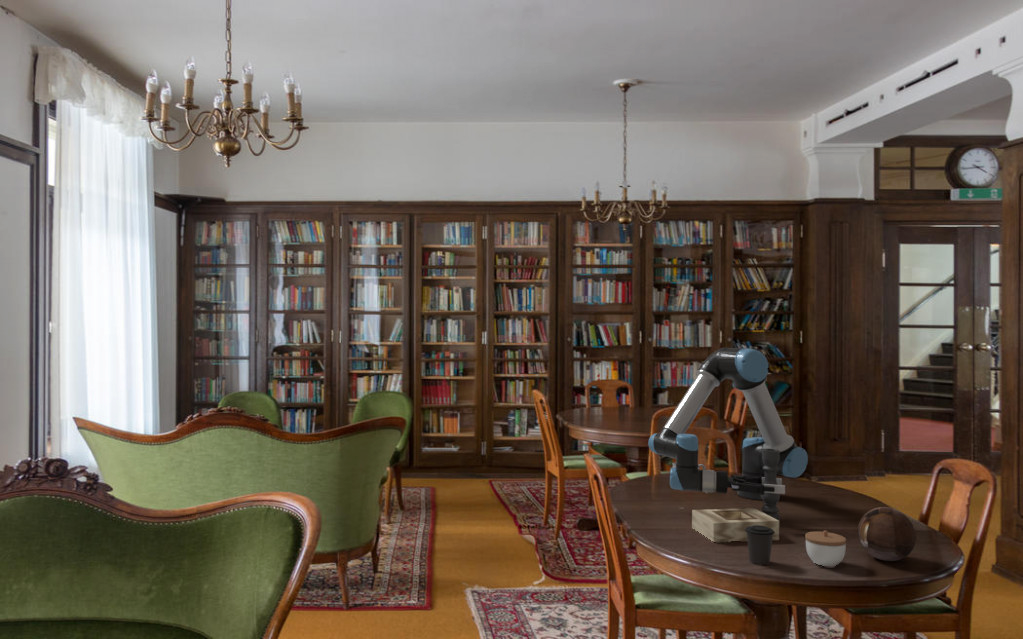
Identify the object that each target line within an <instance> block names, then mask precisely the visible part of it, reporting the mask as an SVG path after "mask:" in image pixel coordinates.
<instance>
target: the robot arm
mask: <svg viewBox="0 0 1023 639" xmlns="http://www.w3.org/2000/svg"><path fill="white" fill-rule="evenodd" d="M768 368H769V362H768V359H767V357H766V356H765V354H764V353H762V352H761V351H759V350H757V349H754V348H748V347H746V348H738V347H737V348H736V347H729V346H728V347H721V348H719V349H716V350H715V351H713V352H712V353H711V354H710V355H708V357H707V358H705V359H704V361H703V362H702V363H701V365H700V366H699V367H698V369H697V370H696V377H695V379H694V380H693V382H692V383H691V384H690V386H689V388H688V389H687V391H686V392H685V394H684V396H683V397H682V399H681V400H680V401H679V403H678V404H677V406H676V407H675V408H674V410H673V412H672V413H671V415H670V417H669V418H668V420H667V421H666V423H665V425H664V426H663V428H662V429H661V431H660V432H659V433H658V432H657V433H653V434H651V435H650V437H649V439H648V442H647V443H648V444H647V446H648V448H649V450H650V452H652V453H653V454H656V455H658V456H664V457H667V458H671V459H674V460H675V462H676V467H675V468H673V467H671V468H670V471H669V472H670V473H669V486H670V488H671V489H672V490H677V491H678V490H680V491H683V492H684V491H685V492H686V491H687V492H705V494H709V493H714V492H716V493H718V494H727V493H728V488H730V489H731V491H733V492H734V491H735V492H737V495H738V496H739V497H742V498H745V499H751V500H761V501H763V500H762V498H761V495H764V493H777V494H779V495H786V485H784V484H783V479H782V478H779V477H776V481H777V485H771V484H764V480H765V471H764V470H763V466H765V464H764V462H763V459H762V449H777V450H780V459H779V462H778V464H777V467H778V468H779V470H778V471H777V472H776V475H778V476H782V477H785V478H793V479H794V478H798V477H800V476H802V475H803V473H805V470H806V469H807V465H808V461H809V459H808V458H809V457H808V456H809V455H808V452H807V451H806V450H805V448H802V447H801V446H797V444H796V442H795V439H794V438H793V436H792V435H789V434H787V432H786V429H785V426H784V425H783V423H782V420H781V418H780V415H779V412H778V410H777V408H776V406H775V404H774V401H773V399H772V396H771V395H770V392H769V389H768V386H767V385H766V382H767V378H768V377H767V376H768V374H769V369H768ZM726 379H728V380H731V381H732V382H733V384H734V386H735V389H736V390H737V391H740V392H742V394H743V397H744V398H745V400H746V403H747V405H748V407H749V410H750V412H751V415H752V417H753V418H754V421H755V423H756V426H757V427H758V430H759V433H760V435H761V436H754V437H753V436H752V437H746V438H744V439H743V441H742V449H741V450H742V451H741V452H742V453H741V455H742V459H741V461H742V466H741V467H742V474H741V475H734V474H732V475H730V477H728V472H727V470H717V471H715V470H714V469H706V470H703V469H700V468H699V469H698V465H699V449H700V448H699V439H698V438H699V437H698V436H697V435H696V434H692V433H686V431H687V430H688V429H689V428H690V426H691V424H692V423H693V421H694V420H695V418H696V416H697V415H698V413H699V412H700V410H701V409H702V407H703V405H704V404H705V402H706V401H707V399H708V398H709V396H710V395H711V393H712V391H713V390H714V389H715V387H719V386H720V384H722V382H723V381H724V380H726ZM763 484H764V485H763Z"/></svg>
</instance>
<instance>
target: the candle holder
mask: <svg viewBox="0 0 1023 639" xmlns="http://www.w3.org/2000/svg"><path fill="white" fill-rule="evenodd" d="M762 459H763V462H764V464H765V466H763V470H764V471H765V480H764V484H771V485H777V481H776V478H777V474H776V472H777V471H778V470H779V468H778V467H777V464H778V462H779V459H780V450H777V449H762ZM764 484H763V485H764ZM780 497H781V494H777V493H764V495H761V498H762V500H761V501H762V503H763V505H762V507H761V510H760V511H761V512H763V513H765V514H767V515H769V516H771V517H773V518H775V519H777V520H779V521H780V515H781V514H780V513H779V511H780V509H779V508H778V506H777V505H778V503H779V501H780Z"/></svg>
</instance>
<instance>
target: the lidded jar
mask: <svg viewBox="0 0 1023 639" xmlns="http://www.w3.org/2000/svg"><path fill="white" fill-rule="evenodd" d="M804 536H805V537H804V538H805V550H806V553H807V555H808V557H809V558H810V560H811V561H812V562H813V564H814V563H816V564H818V565H822V566H836V565H837V566H838V565H839V564H840V563H841V562H842V561H843V559H844V558H845V555H846V548H847V545H846V544H847V538H846V537H844V536H843V535H841V534H838V533H834V532H828V530H823V531H809V532H806V533H805V535H804ZM816 564H815V565H816ZM818 565H817V566H818ZM822 566H821V567H822ZM837 566H836V567H837Z"/></svg>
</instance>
